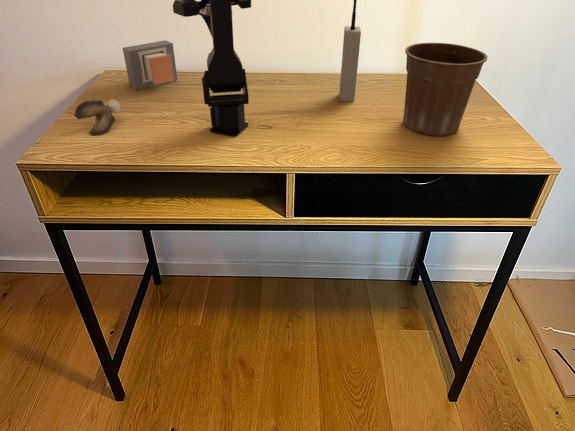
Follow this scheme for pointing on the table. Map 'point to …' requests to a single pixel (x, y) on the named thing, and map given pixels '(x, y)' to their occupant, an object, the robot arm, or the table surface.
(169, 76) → the plunger
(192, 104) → the table surface
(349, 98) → the vintage mobile phone
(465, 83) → the plant pot
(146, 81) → the box
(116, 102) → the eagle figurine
